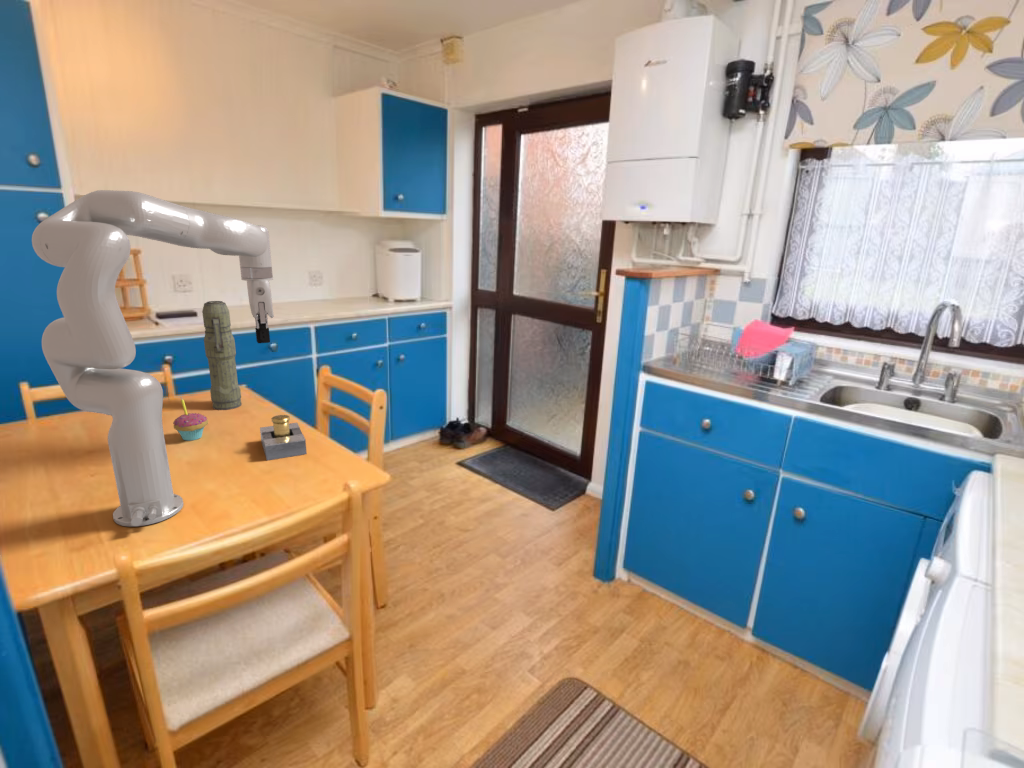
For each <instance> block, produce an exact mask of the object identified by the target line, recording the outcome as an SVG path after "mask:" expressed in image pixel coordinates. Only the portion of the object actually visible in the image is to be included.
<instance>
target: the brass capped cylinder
mask: <svg viewBox="0 0 1024 768" xmlns="http://www.w3.org/2000/svg"><path fill="white" fill-rule="evenodd" d="M270 419H271V422H272V424H273V425H272V426H273V427H274V438H279V437H286V436H290V429H289V424H290V420H291V419H290V415H287V414H277V415H274V416H272V417H271V418H270Z"/></svg>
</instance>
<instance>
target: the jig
mask: <svg viewBox="0 0 1024 768" xmlns="http://www.w3.org/2000/svg"><path fill="white" fill-rule="evenodd" d="M289 429H290V436H286V437H279V438H274V427H273V425H270V426H262V427H259V431H260V432H259V433H260V441H261V445H262V449H263V452H264V455H265V459H266V461H271V460H278V459H284V458H291V457H298V456H302V455H307V454H308V453H307V441H306V438H305V436H304V433H303V431H301V427H300V425H299V423H298V422H291V423H290V422H289Z"/></svg>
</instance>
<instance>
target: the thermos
mask: <svg viewBox="0 0 1024 768" xmlns="http://www.w3.org/2000/svg"><path fill="white" fill-rule="evenodd" d="M202 307H203V308H202V311H201V312H202V319H203V327H204V337H203V338H204V339H203V343H204V345H203V346H204V352H205V357H206V359H207V361H208V363H207V364H208V368H209V369H208V370H209V377H210V389H209V390H210V391H209V393H210V398H211V399H210V400H211V402H212V408H213V410H218V411H227V410H233V409H234V410H235V409H237V408H239V407H241V406H242V404H243V403H242V399H241V398H242V392H241V387H240V386H239V382H238V373H237V363H236V355H237V352H236V351H237V350H236V342H235V341H236V340H235V337H234V335H233V333H232V329H231V326H232V325H231V315H230V310H229V307H228V306H227V304H226V302H225V301H224V302H223V300H222V301H221V300H211V301H206V302H204V303H203V306H202Z"/></svg>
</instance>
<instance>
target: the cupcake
mask: <svg viewBox="0 0 1024 768" xmlns="http://www.w3.org/2000/svg"><path fill="white" fill-rule="evenodd" d="M180 398H181V400H180V402H181V405H182V409H183V411H184V413H183V414H182V415H179V416H178V417H176V418H175V419H174V421H173V422H172V423H173V429H174V430H176V431H177V432H178V433H179V434H180V437H181V438H182V440H184V441H187V442H191V441H196V440H199V439H201V438H202V437H203V432H204V429H205V427H206V426H208V425H209V419H208V418H207V416H205V415H204V414H203V415H202V414H201V413H199V412H198V413H196V412H195V413H193V412H191V413H188V411H187V406H186V404H185V400H184V399H183V398H182V396H181V397H180Z"/></svg>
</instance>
